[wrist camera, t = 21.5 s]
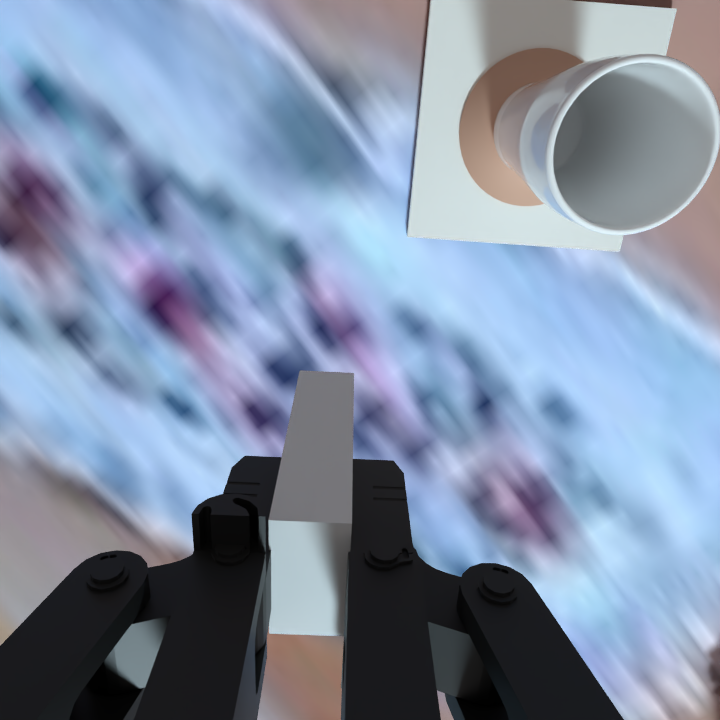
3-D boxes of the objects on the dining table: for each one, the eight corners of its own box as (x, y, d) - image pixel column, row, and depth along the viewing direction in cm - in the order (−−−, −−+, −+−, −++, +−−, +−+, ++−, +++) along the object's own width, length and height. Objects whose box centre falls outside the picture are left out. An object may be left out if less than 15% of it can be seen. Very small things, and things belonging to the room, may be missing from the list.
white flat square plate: (406, 235, 41) (407, 237, 40) (430, -9, 35) (432, -12, 34) (615, 249, 41) (620, 252, 40) (671, 10, 36) (678, 8, 35)
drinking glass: (470, 180, 38) (526, 228, 25) (491, 61, 36) (568, 39, 22) (576, 193, 39) (691, 247, 25) (605, 75, 36) (752, 62, 22)
